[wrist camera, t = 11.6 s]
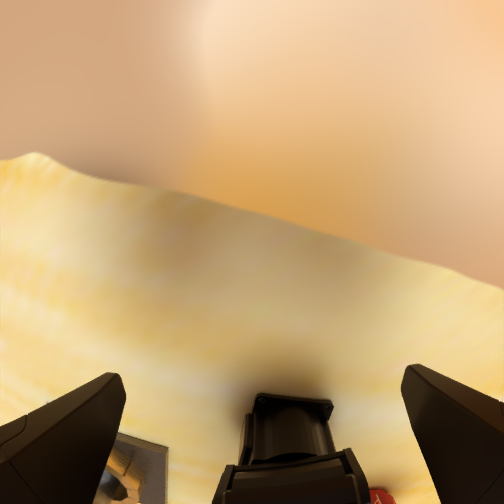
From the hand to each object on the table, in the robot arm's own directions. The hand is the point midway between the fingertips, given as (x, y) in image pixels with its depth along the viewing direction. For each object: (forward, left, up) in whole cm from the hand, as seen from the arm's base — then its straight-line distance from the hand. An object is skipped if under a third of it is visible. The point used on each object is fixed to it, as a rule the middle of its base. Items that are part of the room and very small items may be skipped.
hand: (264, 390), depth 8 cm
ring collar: (+12, +24, -13) cm, 30 cm away
